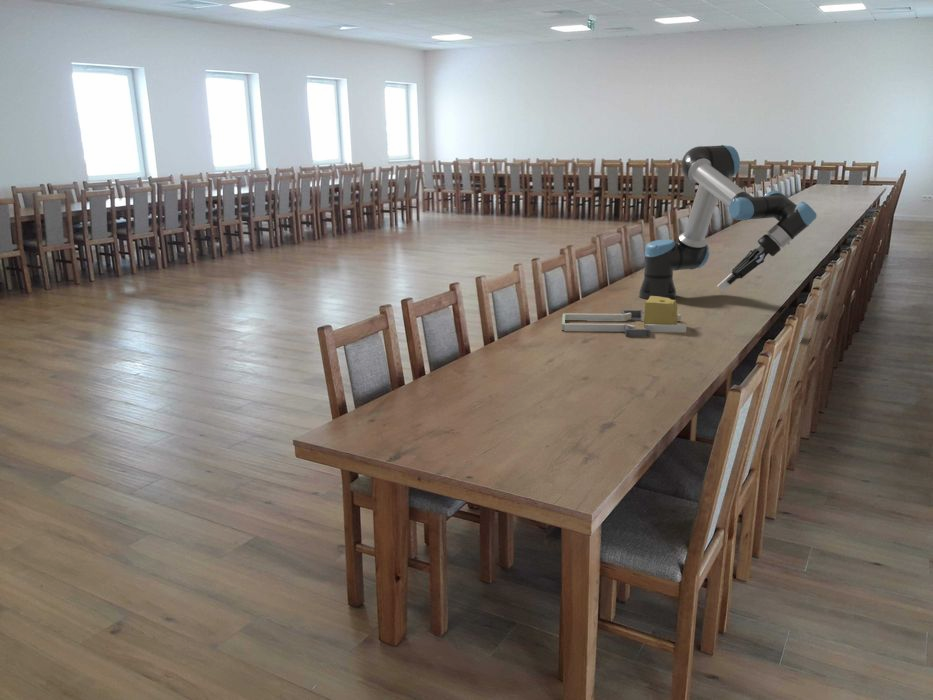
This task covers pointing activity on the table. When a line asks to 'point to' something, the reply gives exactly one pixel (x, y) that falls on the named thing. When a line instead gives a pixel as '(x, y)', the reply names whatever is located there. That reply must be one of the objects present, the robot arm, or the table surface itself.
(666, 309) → the cheese
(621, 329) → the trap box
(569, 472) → the table surface
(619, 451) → the table surface
